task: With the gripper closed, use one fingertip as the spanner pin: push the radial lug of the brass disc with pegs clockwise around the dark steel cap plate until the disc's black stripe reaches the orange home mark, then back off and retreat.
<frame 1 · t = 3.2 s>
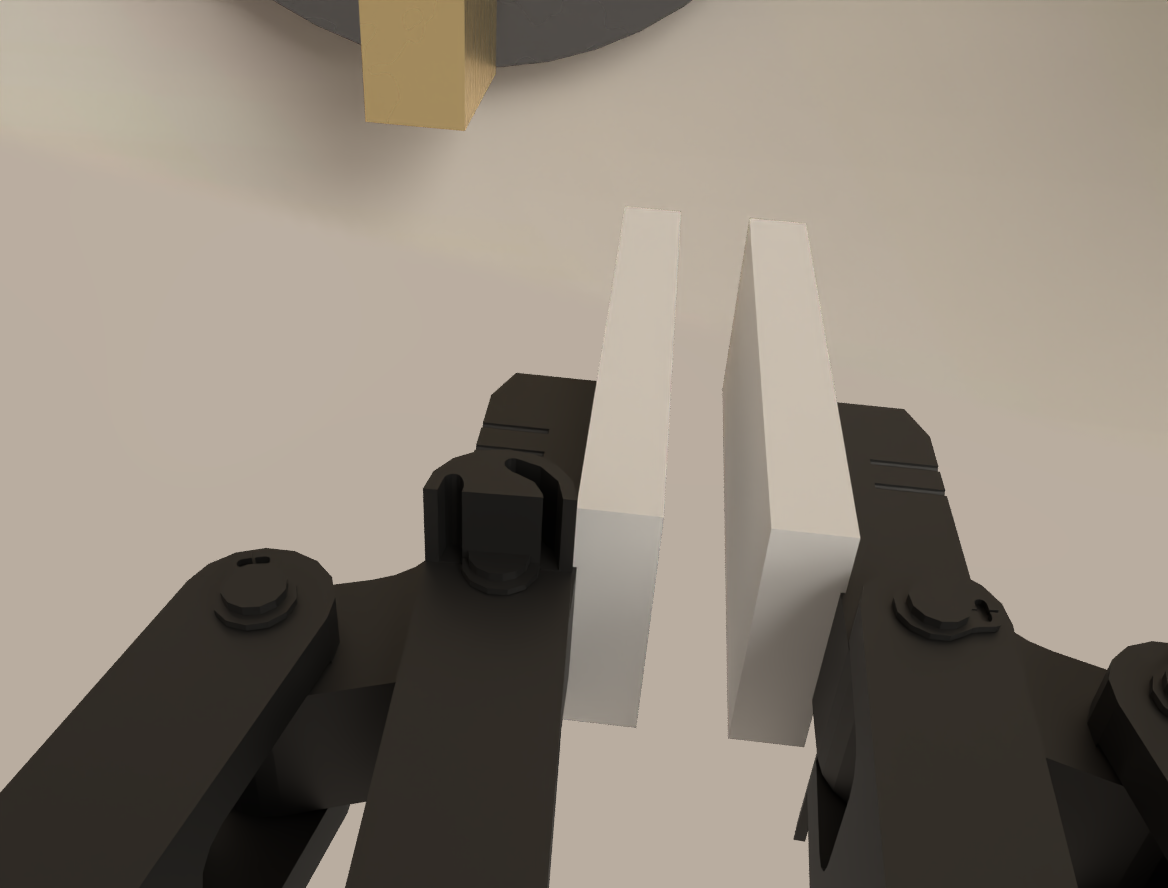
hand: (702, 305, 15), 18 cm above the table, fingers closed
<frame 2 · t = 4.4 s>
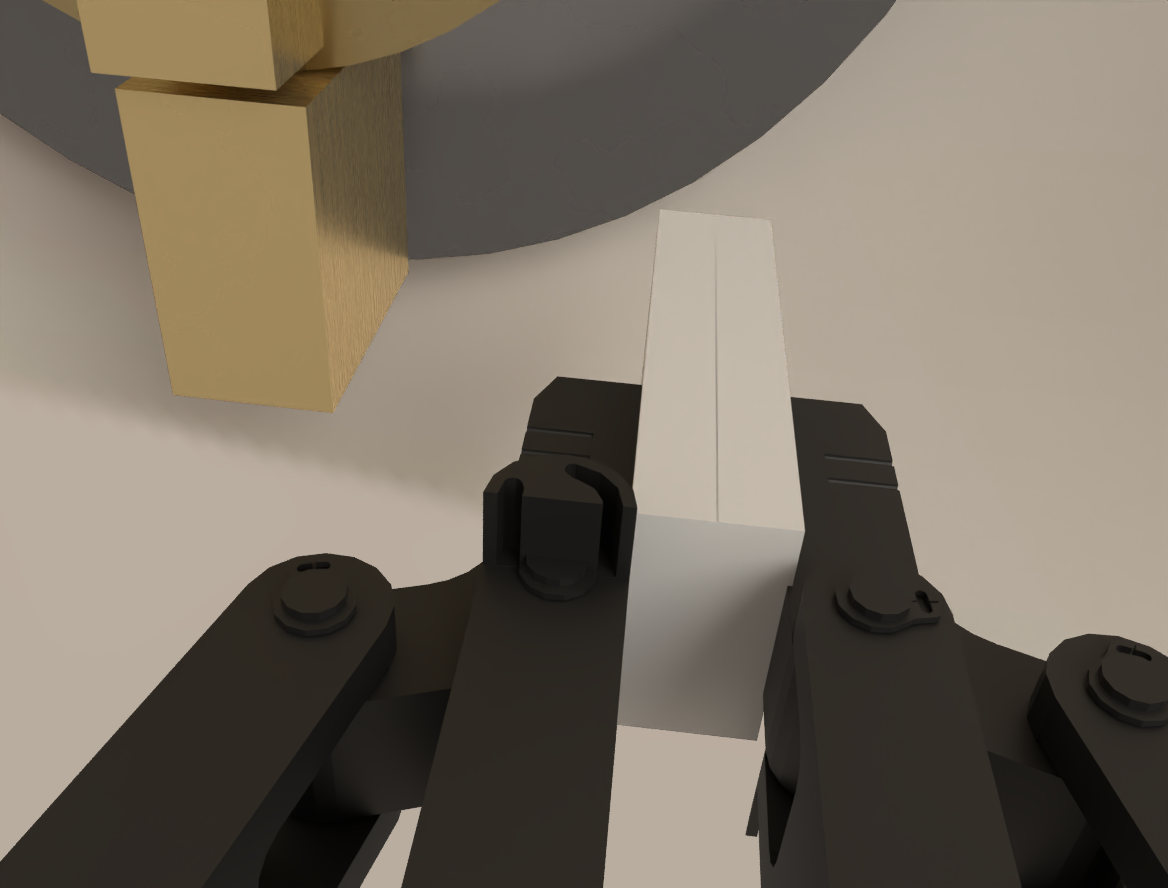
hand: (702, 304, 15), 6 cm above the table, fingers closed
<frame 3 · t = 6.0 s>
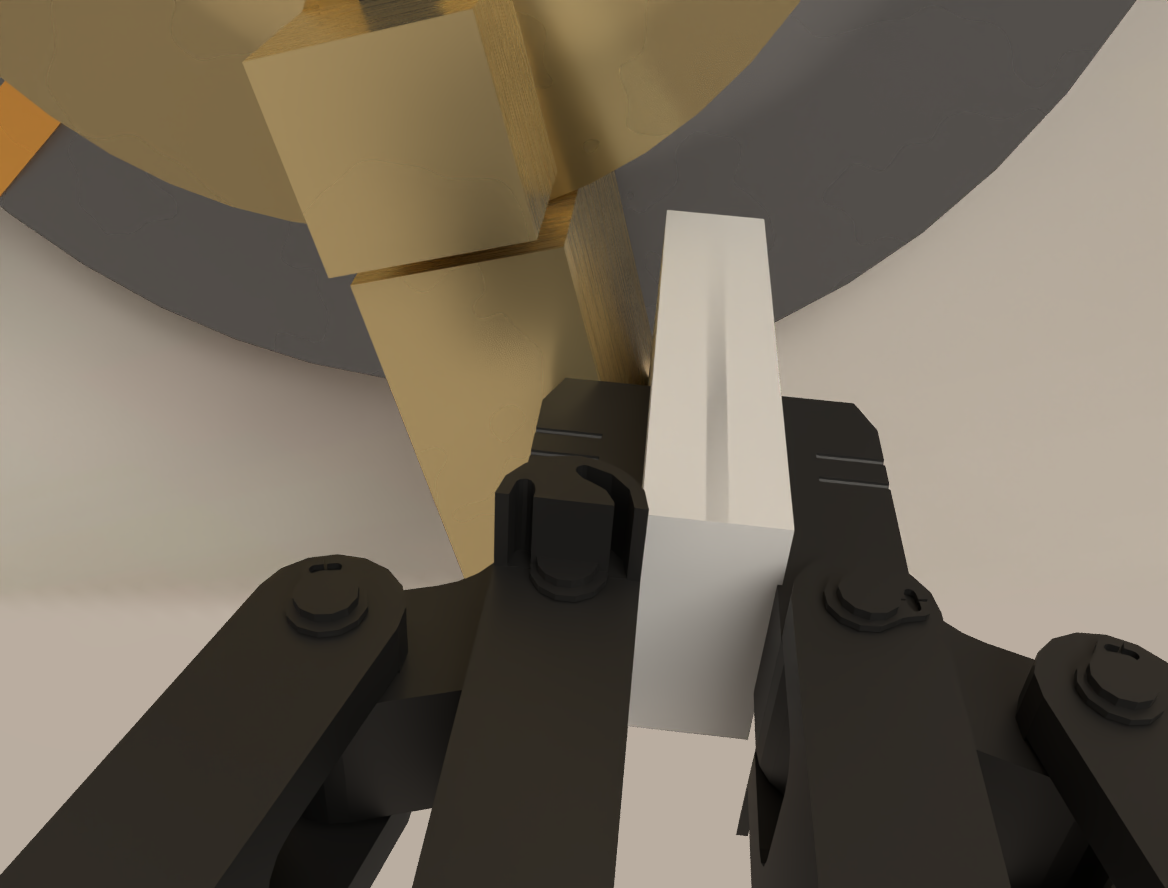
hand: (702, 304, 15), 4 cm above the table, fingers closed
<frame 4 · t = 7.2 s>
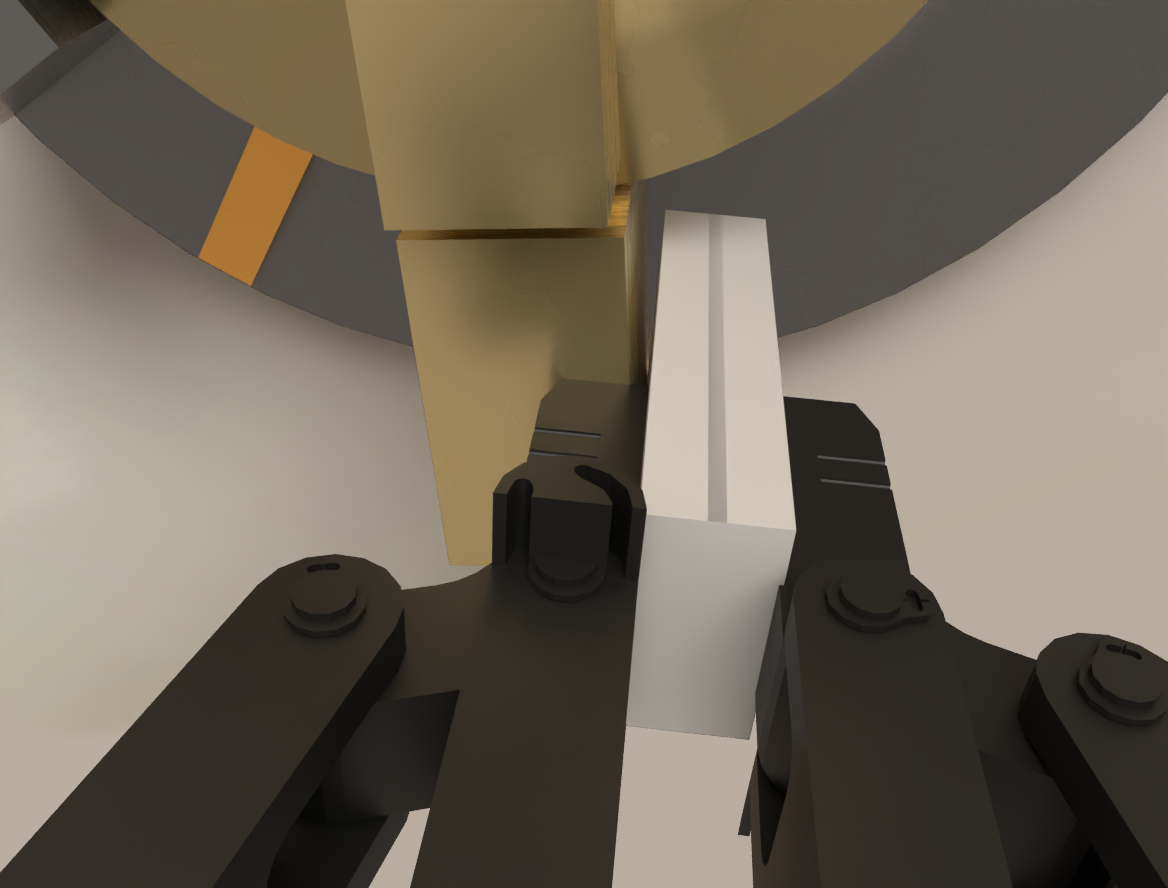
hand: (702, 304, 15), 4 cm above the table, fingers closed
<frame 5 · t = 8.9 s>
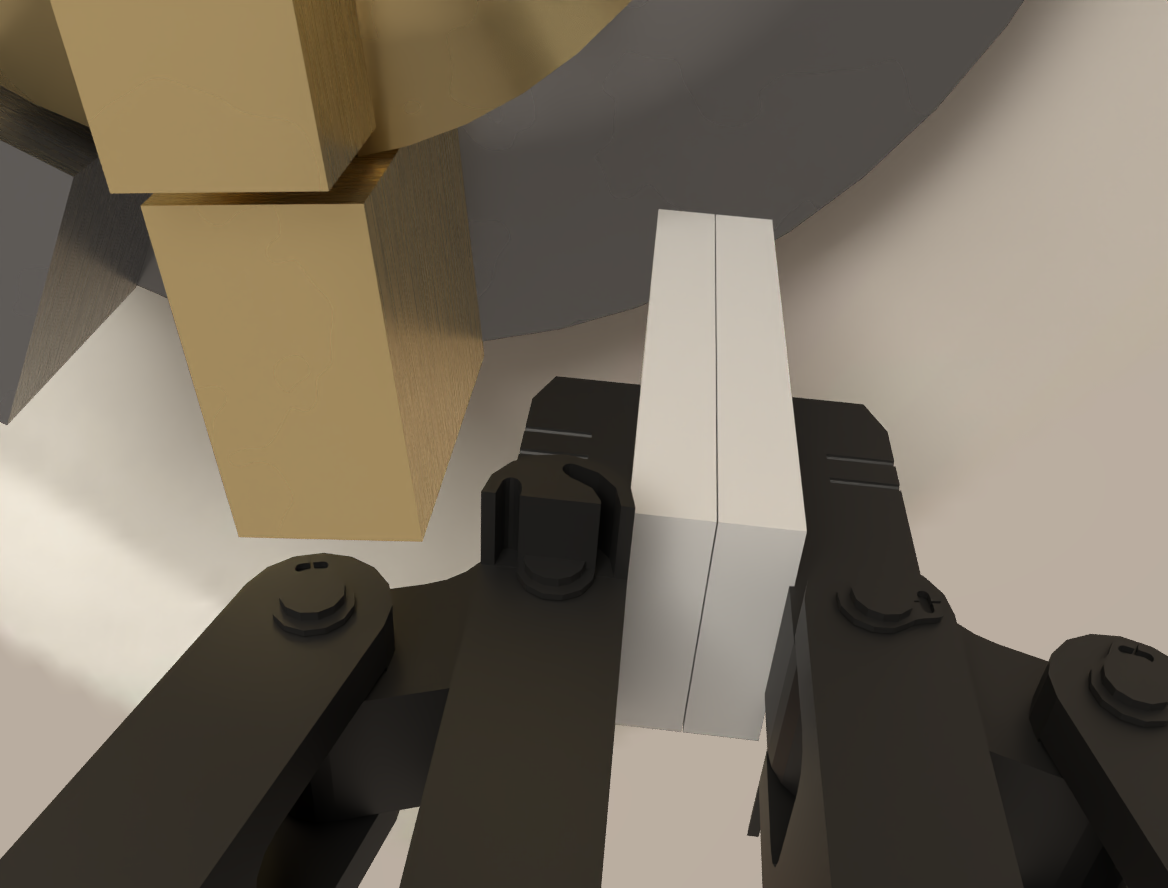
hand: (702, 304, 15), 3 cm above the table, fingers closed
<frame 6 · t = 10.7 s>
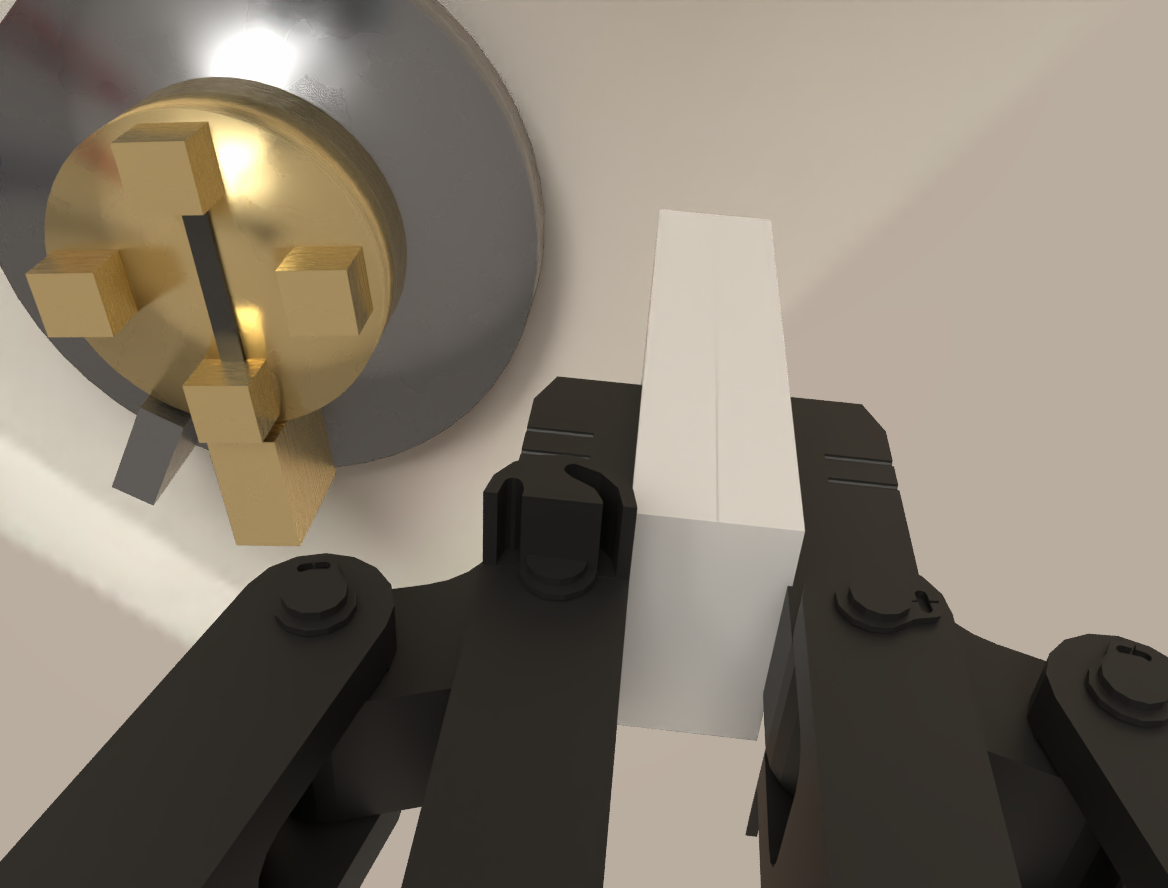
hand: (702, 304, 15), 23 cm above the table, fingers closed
cap plate: (273, 212, 40), on the table
brass disc with pegs: (239, 330, 37), point 5 cm above the table, hinge at 58.7°
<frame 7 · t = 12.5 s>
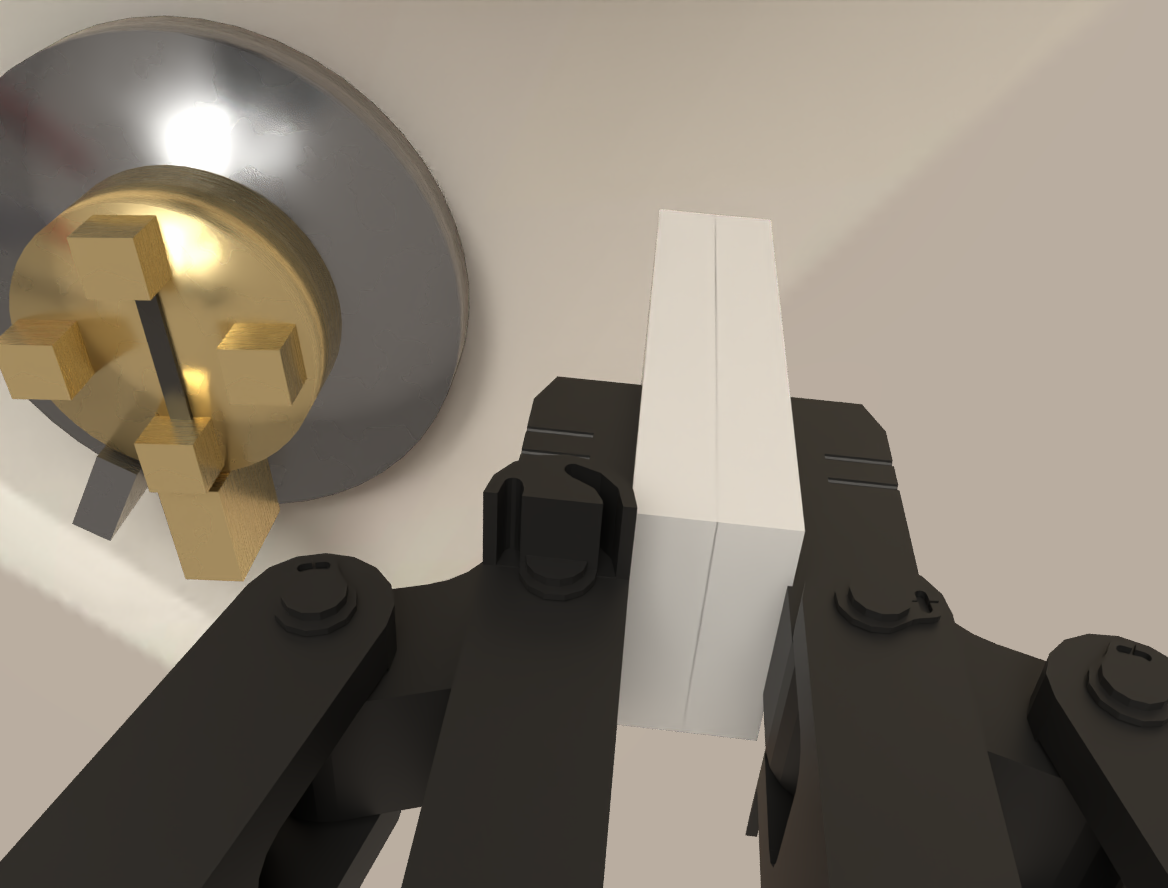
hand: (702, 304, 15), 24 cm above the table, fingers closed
cap plate: (222, 276, 44), on the table
brass disc with pegs: (187, 389, 41), point 5 cm above the table, hinge at 58.7°
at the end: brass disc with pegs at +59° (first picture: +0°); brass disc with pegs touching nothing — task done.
